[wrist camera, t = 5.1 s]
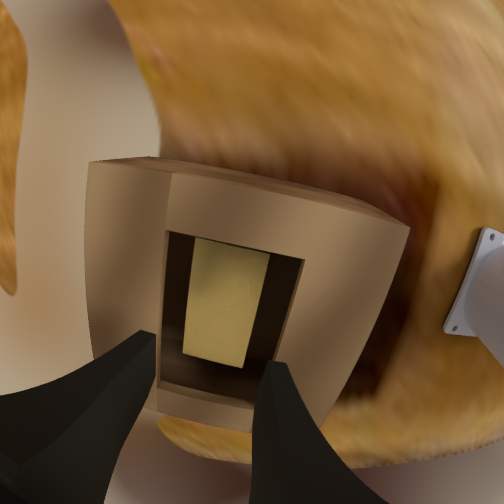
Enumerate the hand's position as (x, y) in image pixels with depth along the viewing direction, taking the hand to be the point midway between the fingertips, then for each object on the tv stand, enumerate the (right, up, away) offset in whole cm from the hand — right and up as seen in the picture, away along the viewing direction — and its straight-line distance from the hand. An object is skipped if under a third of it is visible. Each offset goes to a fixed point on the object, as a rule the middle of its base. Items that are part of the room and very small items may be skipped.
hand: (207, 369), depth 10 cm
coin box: (0, +3, +7) cm, 8 cm away
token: (+1, +3, +7) cm, 7 cm away
